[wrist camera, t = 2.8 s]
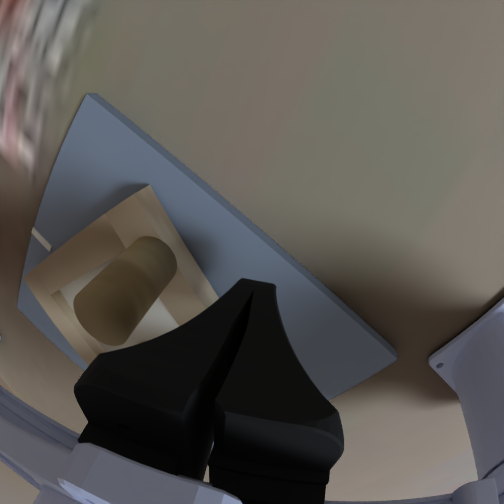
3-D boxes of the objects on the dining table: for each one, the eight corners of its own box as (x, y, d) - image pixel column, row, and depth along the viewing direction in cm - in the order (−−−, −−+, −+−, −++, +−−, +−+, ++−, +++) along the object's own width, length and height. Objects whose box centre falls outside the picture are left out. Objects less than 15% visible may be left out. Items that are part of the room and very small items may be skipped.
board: (396, 350, 17) (398, 360, 16) (209, 445, 26) (207, 452, 25) (96, 93, 13) (85, 94, 12) (22, 302, 22) (16, 307, 21)
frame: (295, 405, 19) (284, 484, 13) (161, 419, 23) (135, 475, 18) (153, 182, 14) (67, 234, 8) (36, 267, 18) (-21, 314, 13)
